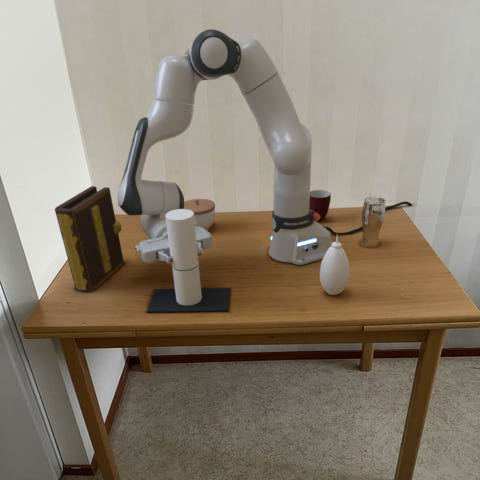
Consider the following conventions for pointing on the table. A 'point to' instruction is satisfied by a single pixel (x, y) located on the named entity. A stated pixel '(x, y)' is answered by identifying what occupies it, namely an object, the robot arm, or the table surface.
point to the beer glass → (372, 220)
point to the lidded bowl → (202, 211)
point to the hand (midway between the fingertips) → (185, 256)
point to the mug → (320, 203)
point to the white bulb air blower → (334, 269)
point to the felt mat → (209, 303)
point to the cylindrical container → (184, 256)
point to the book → (90, 237)
